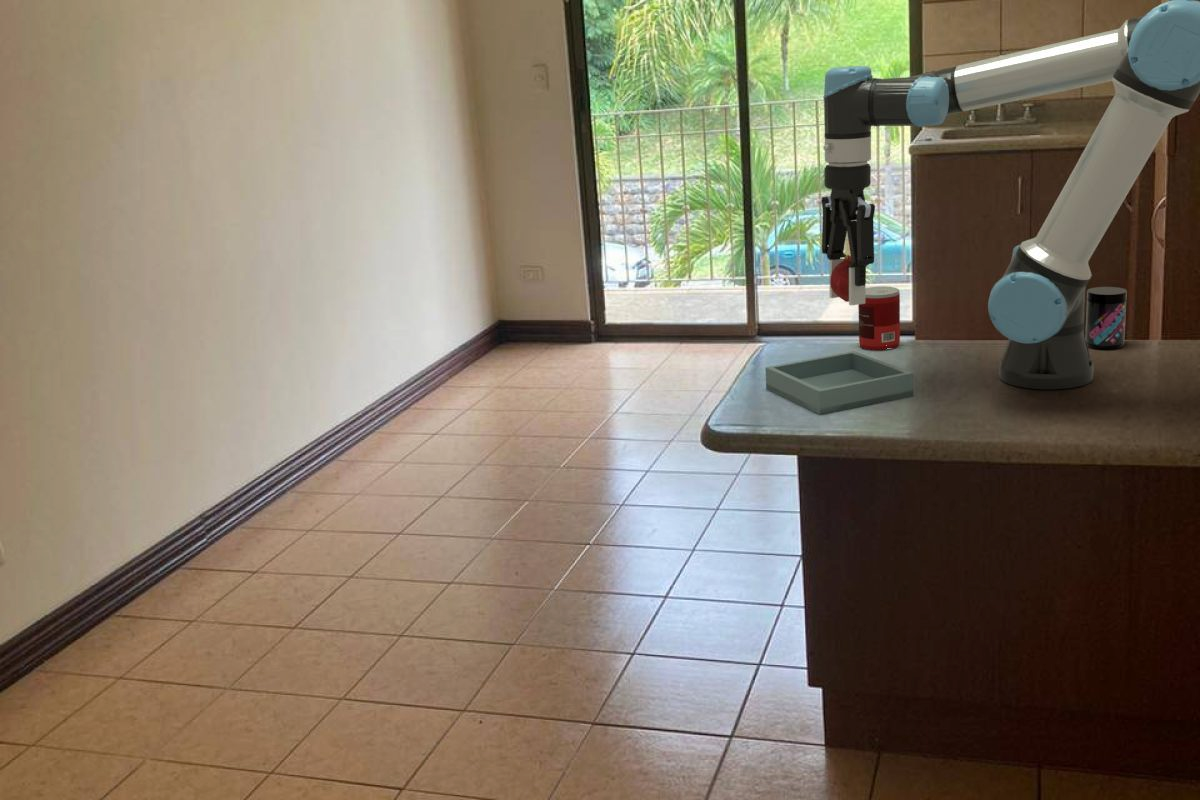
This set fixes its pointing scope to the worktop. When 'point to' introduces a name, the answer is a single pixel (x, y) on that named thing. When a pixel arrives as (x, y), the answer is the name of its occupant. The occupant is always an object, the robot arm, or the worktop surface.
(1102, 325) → the supplement container
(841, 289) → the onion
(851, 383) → the bin
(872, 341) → the canned food
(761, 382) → the worktop surface
